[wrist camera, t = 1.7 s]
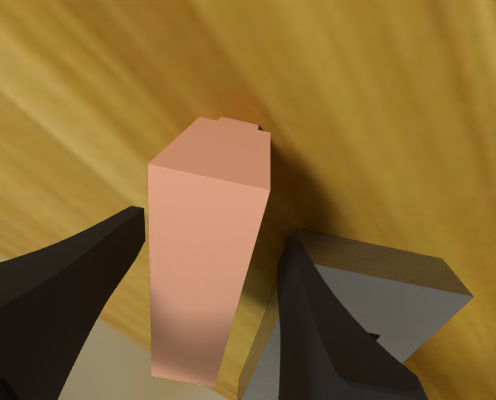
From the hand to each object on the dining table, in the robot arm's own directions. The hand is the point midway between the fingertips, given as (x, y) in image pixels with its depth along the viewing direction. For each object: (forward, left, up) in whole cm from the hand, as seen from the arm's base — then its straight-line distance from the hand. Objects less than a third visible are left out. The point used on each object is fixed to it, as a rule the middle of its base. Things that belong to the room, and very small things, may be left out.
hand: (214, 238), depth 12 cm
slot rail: (-10, +12, -4) cm, 16 cm away
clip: (0, 0, -4) cm, 4 cm away
